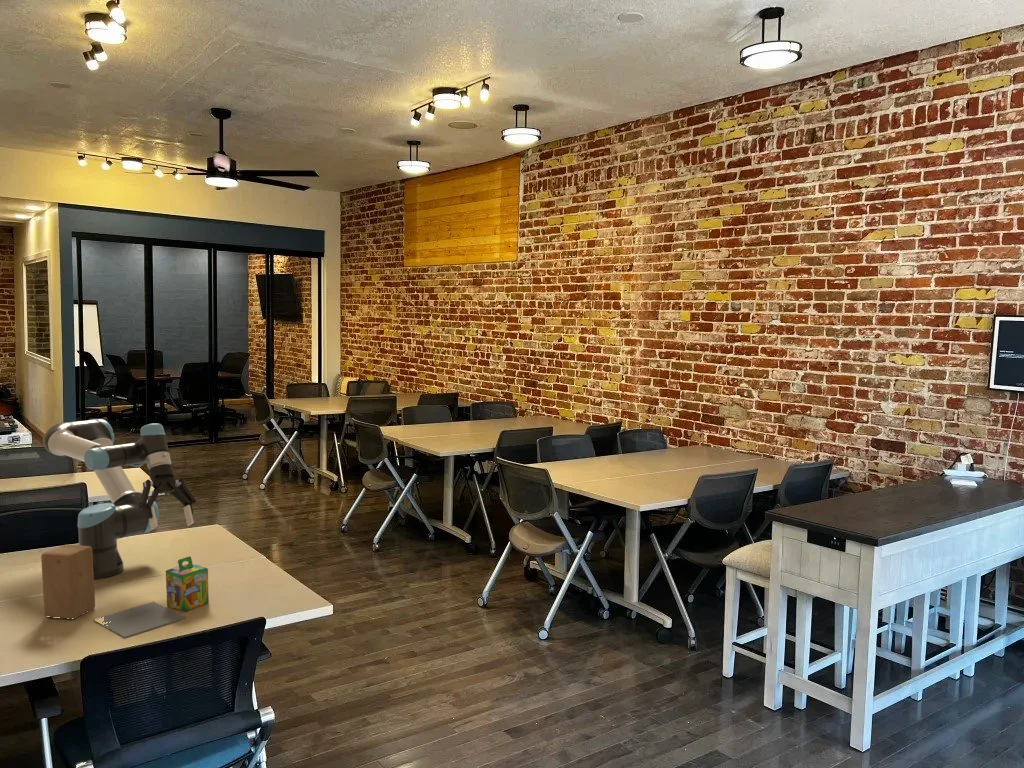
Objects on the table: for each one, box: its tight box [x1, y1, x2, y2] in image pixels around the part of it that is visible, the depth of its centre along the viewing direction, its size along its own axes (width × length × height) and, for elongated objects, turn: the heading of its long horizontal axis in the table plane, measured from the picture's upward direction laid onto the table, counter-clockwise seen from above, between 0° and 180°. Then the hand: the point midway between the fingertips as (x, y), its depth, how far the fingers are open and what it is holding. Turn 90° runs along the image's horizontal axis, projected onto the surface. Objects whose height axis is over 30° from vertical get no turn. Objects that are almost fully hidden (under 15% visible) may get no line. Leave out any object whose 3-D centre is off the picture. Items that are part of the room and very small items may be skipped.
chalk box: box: [165, 556, 210, 612], centre depth 238 cm, size 9×9×15 cm
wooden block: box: [40, 543, 96, 619], centre depth 231 cm, size 10×10×20 cm
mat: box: [100, 601, 187, 639], centre depth 227 cm, size 20×18×1 cm
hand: (172, 526), depth 258 cm, fingers open, 13 cm apart
